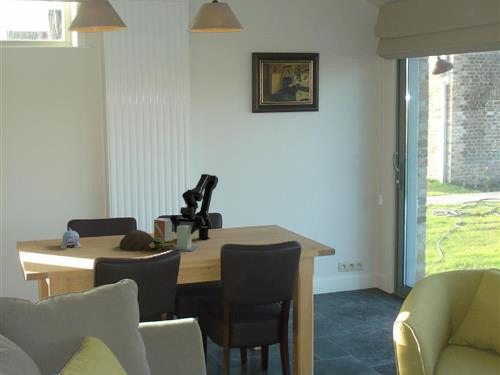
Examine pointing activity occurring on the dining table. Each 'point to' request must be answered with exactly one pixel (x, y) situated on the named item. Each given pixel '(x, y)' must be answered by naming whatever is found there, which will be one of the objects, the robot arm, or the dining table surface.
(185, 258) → the dining table surface
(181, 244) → the sage block
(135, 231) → the decorative dome
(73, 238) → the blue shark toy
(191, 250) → the slate mat
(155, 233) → the small box
